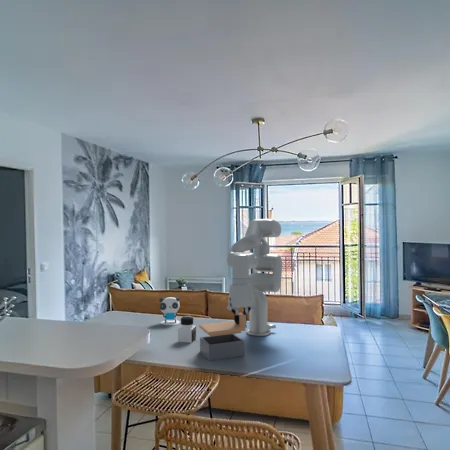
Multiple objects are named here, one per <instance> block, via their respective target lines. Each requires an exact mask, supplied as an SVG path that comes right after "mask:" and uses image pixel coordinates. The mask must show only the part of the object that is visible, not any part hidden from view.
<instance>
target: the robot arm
mask: <svg viewBox="0 0 450 450" xmlns="http://www.w3.org/2000/svg"><path fill="white" fill-rule="evenodd" d="M281 233H282V226H281V224H280V222H279V221H277V220H275V219H271V218H258V219H257V218H256V219H252V220H250V222H249V223H248V227H247V229H246V231H245V234H244V236H243V237H242V238H240V239H239V240H237V241H236V242H234V243H233V244H232V245H231V247H230V249H229V252H228V254H227V259H226V262H227V266H228V267H229V268H231V271H232V272H231V274H232V275H231V277H232V279H231V284H230V286H229V291H228V305H227V306H226V309H227V310H228V311H230V312H232V313H233V315H234V316H233V318H234V319H233V321H235V323H236V324H239V315H238V313H239V309H241V308H242V310H243V312H242V313H243V314H245V315H246V324H247V323H248V320H249V327H248V328H246V334H247V335H250V336H253V337H265V336H269V335H270V334H271V329H276V328H277V326H276V324H271V323H270V324H269V323H268V299H267V296H266V294H265V292H267V293H268V292H269V293H277V292H279V291H280V290H281V285H282V275H283V273H282V272H283V260H282V257H281V255H279V254H273V253H270V252H271V251H270V250H271V247H270V245H269V242H267V240H266V239H265V238H278V237H280V235H281ZM251 250H253V252H249V251H251ZM252 269H253V270H254V271H256V272H254V273H251V274H250V270H252ZM248 315H249V319H248Z"/></svg>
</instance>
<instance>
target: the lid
mask: <svg viewBox="0 0 450 450" xmlns="http://www.w3.org/2000/svg"><path fill="white" fill-rule="evenodd" d="M238 315H239V324H236V323H235V321H234V320H229V321H228V320H227V321H221V322H210V323H202V324H199V325H198V326H199V328H200V329H201V330H202V332H204V333H205V334H206V335H207V336H210V337H212V336H221V335H229V334H235V335H237V334H241V333H242V332H245V331H246V329H248V326H247V323H246V315H245V314H243V312H238Z"/></svg>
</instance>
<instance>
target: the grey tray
mask: <svg viewBox="0 0 450 450" xmlns="http://www.w3.org/2000/svg"><path fill="white" fill-rule="evenodd" d="M199 352H200V354H202V355H203V356H204V357H205V358H206V359H207V361H208V362H211V361H217V360H222V359H223V360H224V359H231V358H237V357H238V358H239V357H244V356H245V340H244V339H242V338H241V337H239V336H238V335H237V334H229V335H221V336H212V337H210V336H209V335H207V336H200V337H199Z"/></svg>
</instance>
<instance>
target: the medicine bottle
mask: <svg viewBox="0 0 450 450" xmlns="http://www.w3.org/2000/svg"><path fill="white" fill-rule="evenodd" d="M196 340H197V325H194V317H193V316H190V315H186V316H182V317H181V318H180V326H179V327H178V328H177V343H190V344H192V343H193V342H194V341H196Z"/></svg>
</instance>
